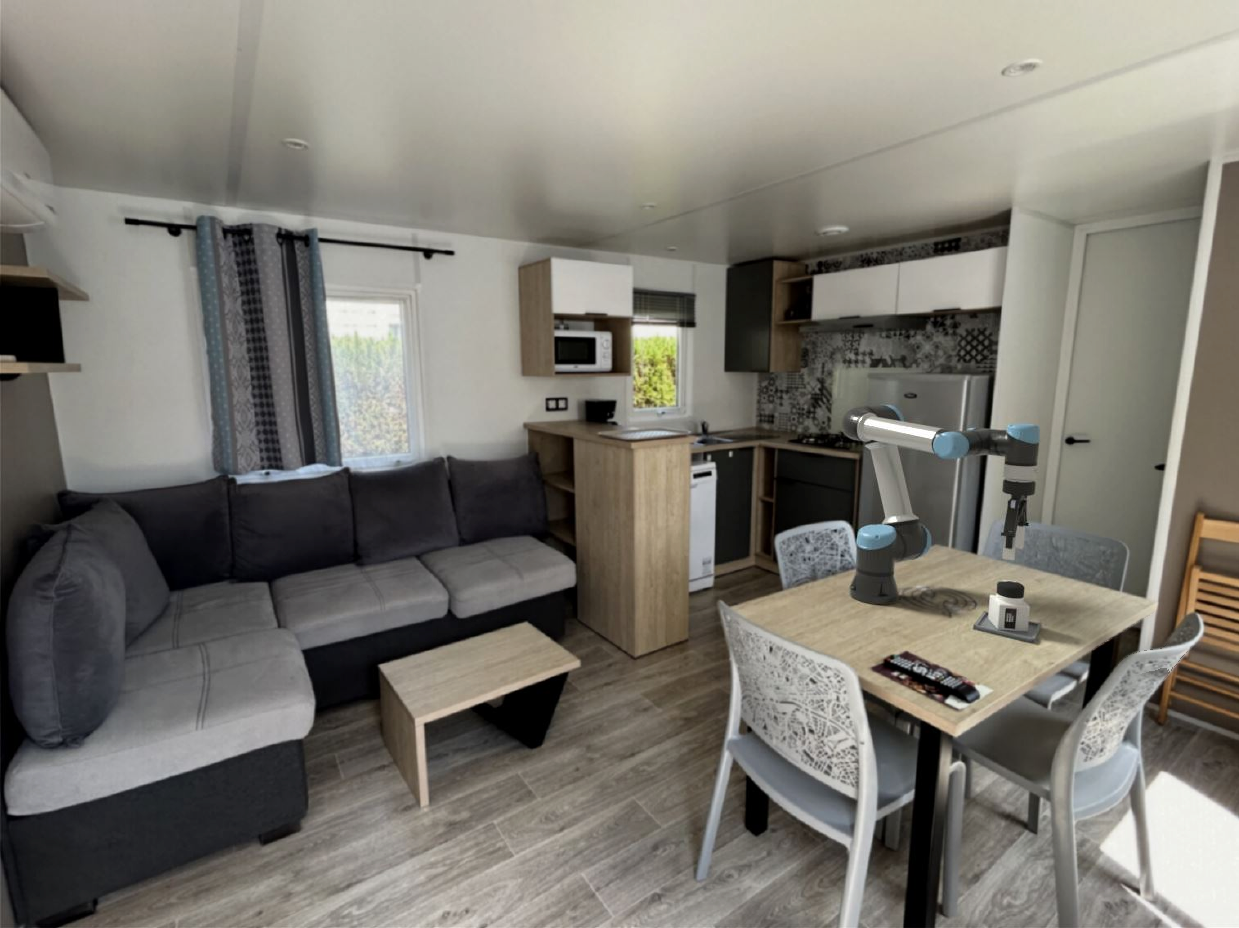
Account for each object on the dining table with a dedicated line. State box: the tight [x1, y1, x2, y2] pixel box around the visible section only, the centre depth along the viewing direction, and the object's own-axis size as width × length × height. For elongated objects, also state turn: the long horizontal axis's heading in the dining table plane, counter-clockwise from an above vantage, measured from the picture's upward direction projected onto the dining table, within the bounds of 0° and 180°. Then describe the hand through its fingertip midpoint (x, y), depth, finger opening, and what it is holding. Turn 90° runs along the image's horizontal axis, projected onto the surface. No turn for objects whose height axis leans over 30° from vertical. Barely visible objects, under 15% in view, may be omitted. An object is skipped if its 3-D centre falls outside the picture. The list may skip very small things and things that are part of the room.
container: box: [988, 579, 1031, 632], centre depth 168 cm, size 8×8×13 cm
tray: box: [972, 610, 1043, 645], centre depth 169 cm, size 14×14×1 cm
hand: (1013, 553), depth 165 cm, fingers open, 13 cm apart
